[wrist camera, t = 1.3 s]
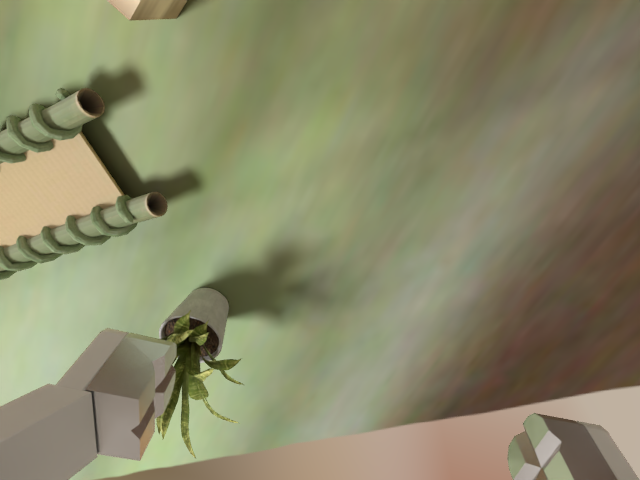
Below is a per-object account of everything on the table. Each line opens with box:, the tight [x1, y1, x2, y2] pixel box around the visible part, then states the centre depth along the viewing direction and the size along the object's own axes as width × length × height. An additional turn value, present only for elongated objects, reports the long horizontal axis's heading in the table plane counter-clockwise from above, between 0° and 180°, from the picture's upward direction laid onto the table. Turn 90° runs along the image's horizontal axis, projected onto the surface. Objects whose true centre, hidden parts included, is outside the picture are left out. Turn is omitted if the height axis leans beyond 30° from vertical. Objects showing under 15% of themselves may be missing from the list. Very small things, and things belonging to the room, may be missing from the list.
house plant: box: [157, 288, 244, 458], centre depth 43 cm, size 14×14×16 cm
